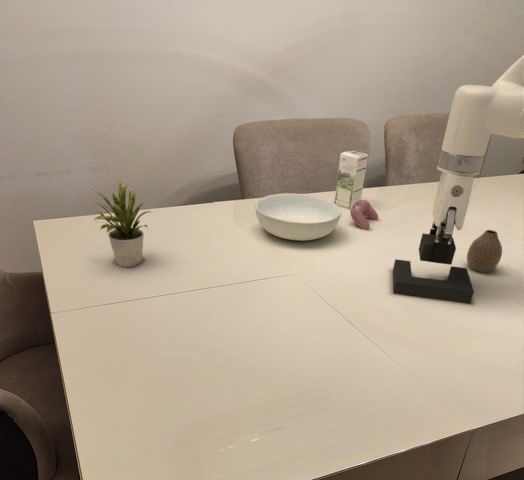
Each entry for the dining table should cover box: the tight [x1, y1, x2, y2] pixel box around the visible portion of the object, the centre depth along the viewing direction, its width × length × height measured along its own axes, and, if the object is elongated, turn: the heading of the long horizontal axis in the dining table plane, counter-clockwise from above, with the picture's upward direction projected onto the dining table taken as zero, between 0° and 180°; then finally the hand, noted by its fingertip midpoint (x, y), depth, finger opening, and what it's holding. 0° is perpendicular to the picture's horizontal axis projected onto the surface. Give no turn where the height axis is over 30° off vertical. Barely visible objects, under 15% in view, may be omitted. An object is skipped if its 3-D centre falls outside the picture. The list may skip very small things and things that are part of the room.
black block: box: [418, 232, 457, 266], centre depth 100 cm, size 6×6×4 cm
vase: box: [466, 229, 503, 274], centre depth 110 cm, size 7×7×9 cm
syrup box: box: [334, 150, 369, 210], centre depth 141 cm, size 6×6×14 cm
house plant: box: [84, 180, 151, 268], centre depth 103 cm, size 14×14×16 cm
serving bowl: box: [254, 193, 342, 241], centre depth 123 cm, size 21×21×7 cm
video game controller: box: [349, 199, 379, 231], centre depth 132 cm, size 10×5×7 cm, turn 154°
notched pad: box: [392, 258, 475, 305], centre depth 102 cm, size 15×11×3 cm
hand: (435, 254), depth 101 cm, fingers closed on black block, 6 cm apart
